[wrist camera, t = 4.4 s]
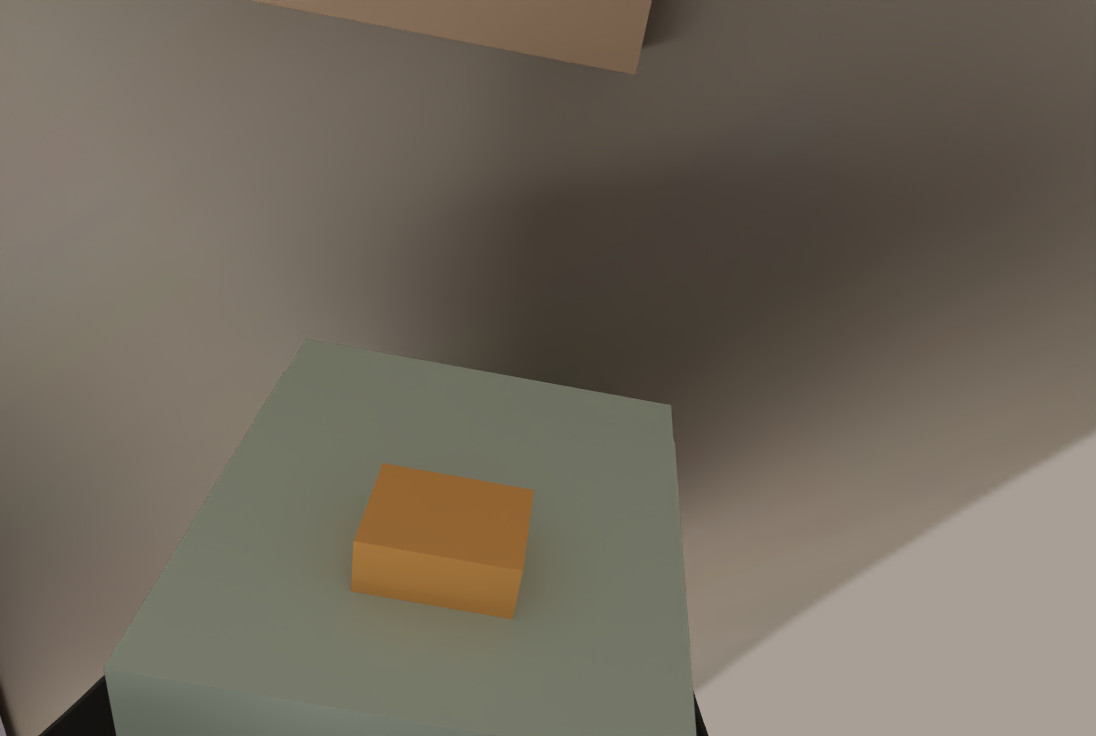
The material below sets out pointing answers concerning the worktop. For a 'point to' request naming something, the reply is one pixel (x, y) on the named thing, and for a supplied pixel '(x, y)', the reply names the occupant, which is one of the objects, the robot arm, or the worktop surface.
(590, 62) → the rail base
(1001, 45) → the worktop surface
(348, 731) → the block
